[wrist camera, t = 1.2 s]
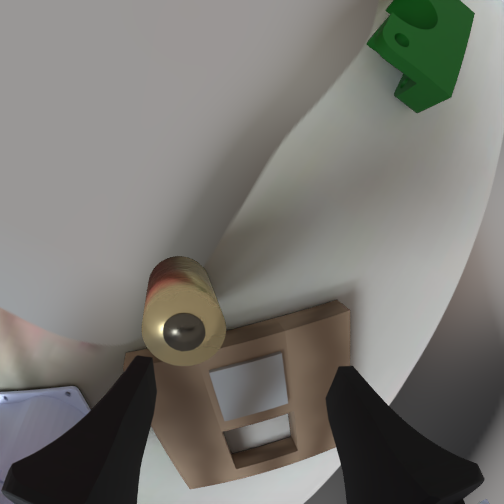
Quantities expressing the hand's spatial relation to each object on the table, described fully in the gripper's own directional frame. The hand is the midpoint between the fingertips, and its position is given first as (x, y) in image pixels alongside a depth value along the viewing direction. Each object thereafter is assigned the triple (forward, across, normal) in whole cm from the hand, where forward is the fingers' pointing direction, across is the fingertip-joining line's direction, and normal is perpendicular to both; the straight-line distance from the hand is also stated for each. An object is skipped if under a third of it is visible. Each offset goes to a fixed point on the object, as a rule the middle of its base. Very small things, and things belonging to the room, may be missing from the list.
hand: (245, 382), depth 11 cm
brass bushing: (+9, +4, +1) cm, 10 cm away
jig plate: (+8, -2, +12) cm, 15 cm away
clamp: (+16, -11, -18) cm, 27 cm away
